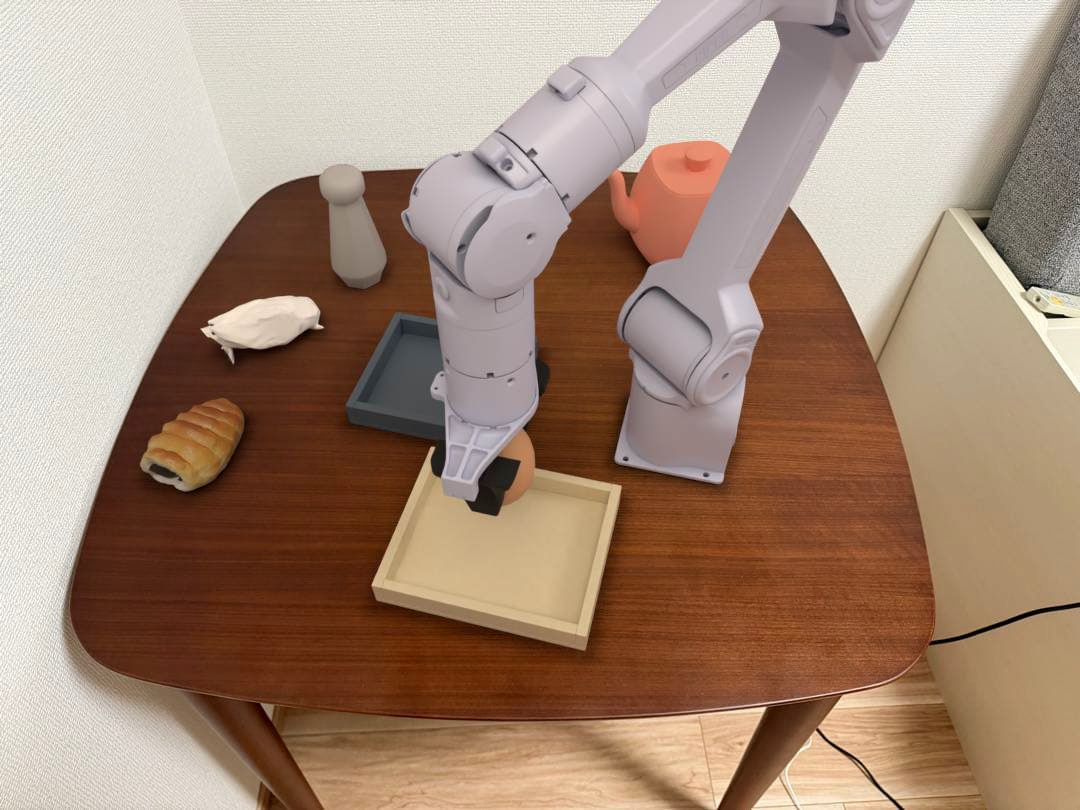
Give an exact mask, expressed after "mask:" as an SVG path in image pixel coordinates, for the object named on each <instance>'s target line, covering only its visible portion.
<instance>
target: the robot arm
mask: <svg viewBox="0 0 1080 810" xmlns="http://www.w3.org/2000/svg"><path fill="white" fill-rule="evenodd" d="M915 2H916V0H661V1H660V2H659V3H657V5H656V6H655V7H654V8H653V9H652V10H651V11H650V12H649V13H648V14H647V15H646V17H644V19H643V20H642V21H641V22H640V23H639V24H638V25H637V26H636V27H635V28H634V29H633V30H632V32H631V33H630V34H629V35H628V36H627V37H626V38H625V39H624V40H623V41H622V42H621V44H619V46H618V47H617V48H615V49H614V51H613V52H612V53H611V54H610V55H609V56H584V55H583V56H575V57H574V58H572V59H571V60H570V61H569V62H568V63H567V64H561V65H560V66H558V68H557V69H556V70H555V71H553V73H551V74H550V75H549V76H548V77H547V78H546V83H545V84H544V85H542V87H541V88H539V89H538V90H537V91H536V92H535V93H534V94H532V96H531V97H530V98H528V99H527V100H526V101H525V102H524V103H523V104H522V105H521V106H520V107H518V108H517V109H516V111H514V112H513V113H512V114H511V115H510V116H509V117H508V118H507V119H505V120H504V121H503V122H502V123H501V124H500V125H499V126H498V127H497V128H496V129H495V130H493V131H492V132H491V133H490V134H489V135H488V136H487V137H485V139H484V140H483V141H481V142H480V143H479V144H478V145H477V146H476V147H475V148H474V149H473V150H461V151H457V152H453V153H448V154H444V155H443V156H440V157H438V158H436V159H434V160H433V161H431V162H430V163H429V164H428V165H427V166H426V167H424V168H423V169H422V171H421V172H420V173H419V175H418V176H417V178H416V180H415V181H414V183H413V185H412V188H411V191H410V196H409V204H408V207H407V208H406V209H405V210H403V211H402V212H401V214H400V217H401V221H402V224H403V226H404V229H406V232H407V233H408V234H409V235H410V236H411V237H412V238H413V239H414V240H415V241H416V242H418V243H419V244H420V245H423V246H424V247H425V248H426V251H427V257H428V264H429V271H430V277H431V279H430V280H431V285H432V295H433V302H434V309H435V315H436V319H437V323H438V331H439V338H440V345H441V352H442V359H443V366H444V371H441V372H439V373H438V374H437V375H436V377H435V379H434V381H433V383H432V385H431V389H430V391H431V396H432V397H433V398H434V399H436V400H441V401H443V402H444V403H445V426H446V440H441V439H439V440H438V441H436V442H437V443H436V445H435V446H434V447H435V449H434V452H433V454H432V456H431V460H430V462H431V468H432V472H433V474H434V475H435V476H437V477H439V478H441V480H442V486H443V492H444V495H446V496H451V497H454V498H459V499H463V500H465V502H466V503H467V505H468V506H469V508H470V509H471V511H473V512H478V513H482V514H487V515H491V516H498V514H499V512H500V510H501V507H502V504H503V501H504V495H505V492H506V491H507V490H509V489H510V487H511V486H512V484H513V482H514V480H515V478H516V475H517V472H518V469H519V466H520V463H521V461H520V460H515V459H511V458H506V457H501V456H497V455H498V454H499V453H500V452H501V451H502V450H503V449H504V448H505V447H506V445H507V444H508V443H509V442H510V441H511V440H512V439H513V438H514V437H515V435H516V434H517V433H518V432H519V431H520V430H521V429H522V428H523V429H524V431H525V432H526V433H527V434H528V431H529V427H530V422H531V419H532V418H533V416H534V415H535V413H536V411H537V409H538V406H539V400H540V399H541V397H542V396H543V394H545V392H546V390H547V386H548V384H549V381H550V378H551V367H550V365H549V364H548V363H547V362H544V361H542V360H538V359H537V360H535V337H536V320H535V279H536V278H537V277H539V276H540V275H541V273H542V272H543V271H544V270H545V268H546V266H547V265H548V263H549V262H550V260H551V259H552V256H553V254H554V253H555V250H556V246H557V243H558V241H559V239H560V238H561V236H562V235H563V234H564V233H565V232H567V230H568V229H569V227H568V226H569V225H570V224H571V222H572V218H571V216H570V213H572V211H574V210H575V209H576V208H577V207H578V206H579V205H580V204H581V203H582V202H583V201H585V200H586V198H588V197H589V196H590V195H592V193H593V192H594V191H596V189H597V188H599V187H600V186H601V185H602V184H603V183H604V182H605V181H606V180H608V179H607V178H608V177H609V176H610V175H611V174H612V173H614V172H615V171H616V170H617V169H618V170H619V169H620V167H621V166H622V165H623V164H625V163H626V162H627V161H628V160H629V159H630V158H631V157H632V156H633V155H635V153H637V152H638V151H639V150H640V149H641V148H643V146H644V145H645V143H646V140H647V136H648V130H649V124H650V115H651V111H652V109H653V107H654V106H656V105H657V104H658V103H660V102H661V101H662V100H664V99H665V98H666V97H667V96H668V95H670V94H671V93H672V92H673V91H675V90H676V89H678V88H679V87H680V86H681V85H682V84H684V83H685V82H686V81H687V80H689V79H690V78H692V77H693V76H694V75H695V74H696V73H697V72H699V71H700V70H702V69H703V68H704V67H706V66H707V65H708V64H710V62H712V61H713V60H714V59H715V58H717V57H718V56H719V55H720V54H722V53H723V52H724V51H726V50H727V49H728V48H729V47H731V46H732V45H733V44H734V43H736V42H737V41H738V40H740V39H741V38H742V37H744V36H745V35H746V34H747V33H748V32H749V31H751V30H752V29H754V28H755V27H757V25H759V24H760V23H761V22H764V21H765V22H766V21H768V22H769V21H770V22H773V23H774V28H775V30H776V34H777V37H778V41H779V49H778V52H777V54H776V57H775V58H774V60H773V62H772V64H771V67H770V69H769V71H768V73H767V75H766V78H765V80H764V82H763V84H762V86H761V88H760V91H759V93H758V95H757V97H756V98H755V101H754V104H753V105H752V107H751V109H750V111H749V114H748V115H747V118H746V120H745V122H744V125H743V127H742V128H741V131H740V133H739V135H738V137H737V140H735V141H736V142H735V143H734V146H733V148H732V150H731V152H730V153H731V154H730V156H729V159H728V161H727V163H726V165H725V167H724V169H723V171H722V173H721V176H720V178H719V180H718V182H717V184H716V186H715V188H714V190H713V193H712V195H711V197H710V199H709V201H708V203H707V205H706V208H705V210H704V212H703V214H702V216H701V218H700V220H699V222H698V225H697V227H696V229H695V231H694V233H693V235H692V237H691V239H690V242H689V244H688V246H687V248H686V250H685V252H684V254H683V257H682V258H674V259H668V260H664V261H661V262H658V263H656V264H654V265H651V264H650V265H649V267H648V268H647V270H646V272H645V274H644V277H643V278H642V280H641V281H640V283H639V284H638V285H637V287H636V289H635V290H634V291H633V292H632V293H631V294H630V295H629V296H628V297H627V298H626V300H625V301H624V304H623V305H622V306H621V309H620V312H619V315H618V318H617V321H616V333H617V336H618V337H619V339H620V340H621V341H622V342H623V343H625V344H627V345H629V349H628V358H629V359H630V360H631V362H632V365H633V369H632V375H631V377H632V378H631V385H630V393H629V394H630V395H629V397H628V402H627V405H626V409H625V412H624V413H625V414H624V417H623V421H622V425H621V429H620V433H619V437H618V442H617V446H616V450H615V454H614V457H613V458H614V459H613V460H614V463H615V464H617V465H619V466H624V467H625V466H626V467H630V468H635V469H639V470H644V471H649V472H655V473H659V474H665V475H670V476H675V477H680V478H684V479H689V480H696V481H699V482H704V483H709V484H715V485H721V484H722V483H723V482H724V478H725V472H726V469H727V466H728V462H729V458H730V455H731V452H732V447H733V446H734V445H735V443H736V439H737V434H738V433H737V432H738V426H739V421H740V416H741V413H742V407H743V403H744V402H743V401H744V395H745V389H746V381H747V373H748V372H749V369H750V367H751V364H752V358H753V353H754V349H755V347H756V344H757V342H758V340H759V338H760V336H761V333H762V331H763V329H764V322H763V319H762V316H761V314H760V311H759V309H758V306H757V303H756V301H755V298H754V295H753V293H752V291H751V288H750V280H751V278H752V276H753V275H754V272H755V270H756V268H757V267H758V266H759V263H760V262H761V259H762V258H763V255H764V254H765V252H766V250H767V248H768V246H769V245H770V242H771V240H772V239H773V237H774V235H775V234H776V231H777V229H778V227H779V225H780V224H781V222H782V219H783V218H784V216H785V214H786V212H787V210H788V209H789V207H790V205H791V203H792V201H793V199H794V197H795V196H796V193H797V192H798V189H799V188H800V186H801V184H802V182H803V180H804V179H805V176H806V175H807V172H808V171H809V169H810V167H811V165H812V163H813V162H814V160H815V158H816V156H817V154H818V152H819V150H820V148H821V147H822V144H823V143H824V141H825V140H826V138H827V135H828V133H829V131H830V129H831V128H832V125H833V124H834V122H835V120H836V118H837V116H838V115H839V112H840V111H841V109H842V107H843V105H844V103H845V101H846V100H847V98H848V96H849V94H850V92H851V90H852V88H853V87H854V84H855V83H856V81H857V78H858V77H859V75H860V73H861V72H862V69H863V68H864V65H865V64H866V63H877V62H881V61H882V60H883V59H884V58H885V56H886V54H887V52H888V50H889V49H890V46H891V45H892V43H893V42H894V40H895V39H896V37H897V35H898V34H899V32H900V30H901V28H902V26H903V24H904V22H905V21H906V18H907V17H908V15H909V13H910V12H911V9H912V8H913V6H914V4H915Z"/></svg>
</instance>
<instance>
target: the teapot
mask: <svg viewBox="0 0 1080 810" xmlns="http://www.w3.org/2000/svg"><path fill="white" fill-rule="evenodd" d="M730 154H731V152H730V151H729V150H728V149H727V148H726V147H725V146H724V145H722V144H720V143H719V142H716V141H713V140H691V141H689V140H688V141H681V142H671V143H666V144H662V145H658V146H656V147H654V148H653V149H652V150H651V151H650V153H649V154H648V155H647V157H646V159H645V160H644V162H643V164H642V166H641V167H640V168H639V171H638V173H637V174H636V176H635V179H634V181H633V184H632V187H631V190H630V194H629V196H628V194H627V191H626V182H625V177H624V175H623V173H622V172H621V170H620V169H619V168H618V169H617V170H616V171H615V172H614V173H612V174H611V175H610V176H609V177H608V178H607V179H606V180H607V181H608V183H609V188H610V200H611V201H610V202H611V208H612V212H613V215H614V217H615V219H616V221H617V222H618V224H619V225H620V226H622V227H623V228H624V229H625V230H627V231H629V234H630V236H631V238H632V240H633V242H634V244H635V246H636V247H637V249H638V250H639V252H640V253H641V255H642V257H644V258H645V260H646V261H647V262H648V264H650V266H651V265H654V264H656V263H658V262H661V261H664V260H668V259H674V258H682V257H683V254H684V252H685V250H686V248H687V246H688V244H689V242H690V239H691V237H692V235H693V233H694V231H695V229H696V227H697V225H698V222H699V220H700V218H701V216H702V214H703V212H704V210H705V208H706V205H707V203H708V201H709V199H710V197H711V195H712V193H713V190H714V188H715V186H716V184H717V182H718V180H719V178H720V176H721V173H722V171H723V169H724V167H725V165H726V163H727V161H728V159H729V156H730Z"/></svg>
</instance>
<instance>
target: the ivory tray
mask: <svg viewBox="0 0 1080 810" xmlns="http://www.w3.org/2000/svg"><path fill="white" fill-rule="evenodd" d="M435 447H436V446H430V448H429V450H428V452H427V455H426V458H425V460H424V462H423V465H422V467H421V469H420V471H419V474H418V476H417V478H416V481H415V482H414V485H413V488H412V489H411V490H412V491H411V493H410V495H409V497H408V499H407V501H406V504H405V505H404V509H403V511H402V513H401V515H400V517H399V520H398V523H397V525H396V527H395V529H394V532H393V534H392V536H391V538H390V541H389V543H388V546H387V548H386V549H385V553H384V554H383V557H382V559H381V562H380V565H379V566H378V569H377V572H376V573H375V576H374V578H373V581H372V583H371V585H370V586H371V589H372V591H373V594H374V598H375V601H377V602H381V603H385V604H389V605H394V606H396V607H397V606H398V607H402V608H406V609H409V610H414V611H417V612H423V613H427V614H431V615H435V616H439V617H443V618H447V619H451V620H456V621H459V622H463V623H467V624H472V625H475V626H476V625H477V626H480V627H485V628H487V629H488V628H489V629H493V630H496V631H500V632H505V633H510V634H514V635H517V636H522V637H525V638H530V639H533V640H538V641H542V642H546V643H551V644H554V645H559V646H563V647H567V648H571V649H575V650H580V651H583V652H584V651H586V649H587V645H588V641H589V636H590V632H591V628H592V624H593V620H594V615H595V611H596V606H597V603H598V597H599V593H600V589H601V585H602V580H603V576H604V572H605V567H606V563H607V558H608V554H609V552H610V551H609V550H610V546H611V542H612V537H613V533H614V529H615V525H616V524H615V523H616V520H617V515H618V512H619V511H618V510H619V507H620V503H621V496H622V495H621V494H622V487H623V486H622V485H619V484H615V483H609V482H606V481H605V482H604V481H599V480H595V479H590V478H585V477H581V476H575V475H571V474H565V473H561V472H556V471H551V470H547V469H543V468H542V469H541V468H537V467H535V471H534V476H533V479H532V482H531V484H530V486H529V488H528V489H527V491H526V492H525V493H524V494H523V496H521V497H520V498H519V499H518V500H516V501H515V502H513V503H511V504H509V505H506V506H502V507H501V510H500V512H499V514H498V516H491V515H487V514H482V513H478V512H473V511H471V509H470V508H469V506H468V505H467V503H466V502H465V500H463V499H459V498H454V497H451V496H446V495H444V492H443V486H442V480H441V478H439V477H437V476H435V475H434V474H433V472H432V468H431V462H430V460H431V456H432V454H433V452H434V449H435Z"/></svg>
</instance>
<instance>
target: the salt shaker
mask: <svg viewBox="0 0 1080 810" xmlns="http://www.w3.org/2000/svg"><path fill="white" fill-rule="evenodd" d="M318 183H319V190H320V193H321V195H322V197H323V198H324V199H325V200H326V201H327V202H328V213H329V214H328V215H329V246H330V248H329V251H330V263H331V268H332V270H333V272H335V274H336V275H337V276H338V277H339V278H340V279H341V280H342V281H343V282H344V284H346V286H347V287H349V288H355V289H361V290H366V289H368V288H370V287H372V286H374V285H376V284H378V283H380V282H381V278H382V274H383V271H384V269H385V267H386V264H387V261H388V259H387V254H386V249H385V247H384V244H383V243H382V239H381V237H380V234H379V233H378V229H377V228H376V226H375V224H374V220H373V218H372V216H371V214H370V211H369V209H368V207H367V204H366V202H365V199H364V197H363V195H364V193H365V191H366V184H365V179H364V175H363V172H362V171H361V170H360V169H359V168H357V167H356V166H355V165H352V164H348V163H338V164H333V165H330V166H329V167H327V168H325V169H324V170H323V171H322V172H321V174H320V175H319V177H318Z"/></svg>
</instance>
